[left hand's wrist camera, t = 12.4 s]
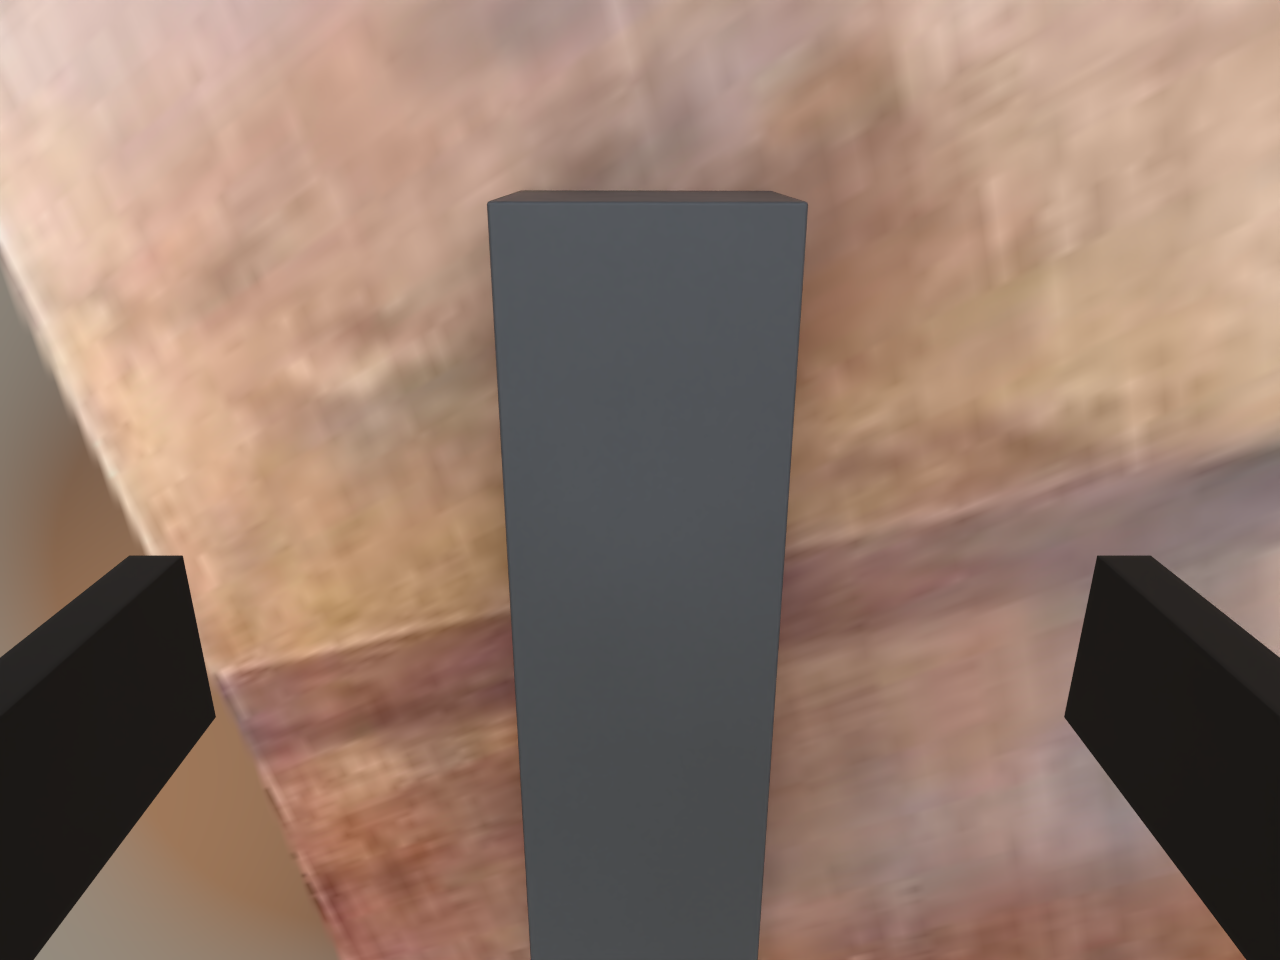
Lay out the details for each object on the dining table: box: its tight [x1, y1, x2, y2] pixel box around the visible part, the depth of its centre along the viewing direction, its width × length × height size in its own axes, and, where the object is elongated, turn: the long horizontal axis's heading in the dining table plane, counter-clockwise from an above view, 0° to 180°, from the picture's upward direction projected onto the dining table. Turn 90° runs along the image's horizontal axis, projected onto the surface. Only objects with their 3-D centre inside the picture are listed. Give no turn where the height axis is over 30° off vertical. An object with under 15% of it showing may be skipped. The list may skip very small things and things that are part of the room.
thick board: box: [487, 191, 808, 960], centre depth 41 cm, size 67×9×7 cm, turn 0°
